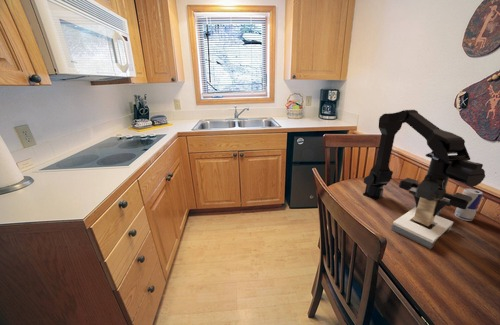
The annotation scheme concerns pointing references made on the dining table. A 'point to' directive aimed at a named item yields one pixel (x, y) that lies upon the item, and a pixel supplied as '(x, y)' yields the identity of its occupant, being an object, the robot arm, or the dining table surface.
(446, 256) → the dining table surface
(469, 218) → the energy drink
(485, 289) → the dining table surface
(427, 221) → the wood peg
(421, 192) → the robot arm
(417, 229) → the hole board
